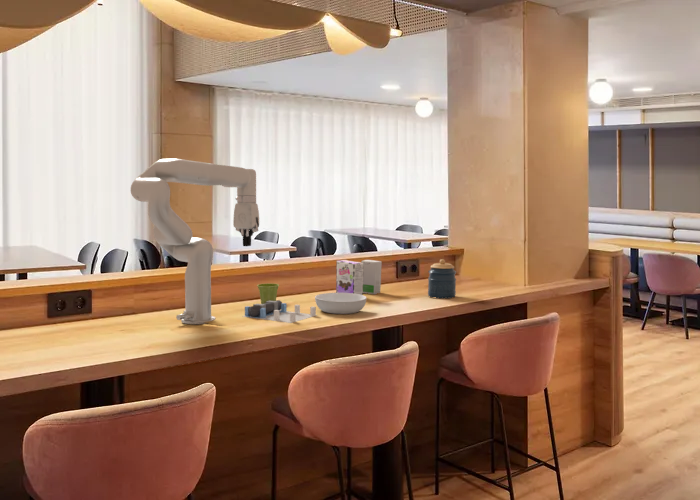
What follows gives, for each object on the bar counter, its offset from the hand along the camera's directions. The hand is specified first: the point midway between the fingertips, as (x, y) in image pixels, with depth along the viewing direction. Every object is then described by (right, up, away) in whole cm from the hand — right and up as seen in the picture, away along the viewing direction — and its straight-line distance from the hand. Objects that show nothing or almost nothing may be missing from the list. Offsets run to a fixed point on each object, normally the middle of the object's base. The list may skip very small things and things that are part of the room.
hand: (247, 245), depth 277 cm
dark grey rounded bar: (+8, -27, -5) cm, 28 cm away
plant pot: (+6, -26, +21) cm, 34 cm away
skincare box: (+51, -22, +56) cm, 79 cm away
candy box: (+41, -24, +44) cm, 65 cm away
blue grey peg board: (+14, -28, -8) cm, 33 cm away
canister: (+84, -24, +47) cm, 99 cm away
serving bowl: (+38, -28, +4) cm, 47 cm away
